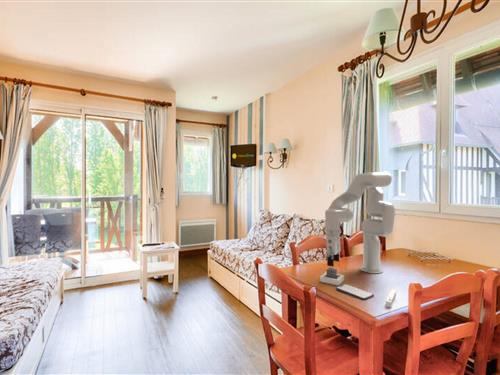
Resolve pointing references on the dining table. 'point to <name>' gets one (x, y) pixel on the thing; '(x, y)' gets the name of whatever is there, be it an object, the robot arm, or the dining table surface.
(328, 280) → the white square shallow tray
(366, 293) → the phone case
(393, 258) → the dining table surface
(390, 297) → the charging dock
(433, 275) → the dining table surface
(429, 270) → the dining table surface
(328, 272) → the plug
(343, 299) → the dining table surface
